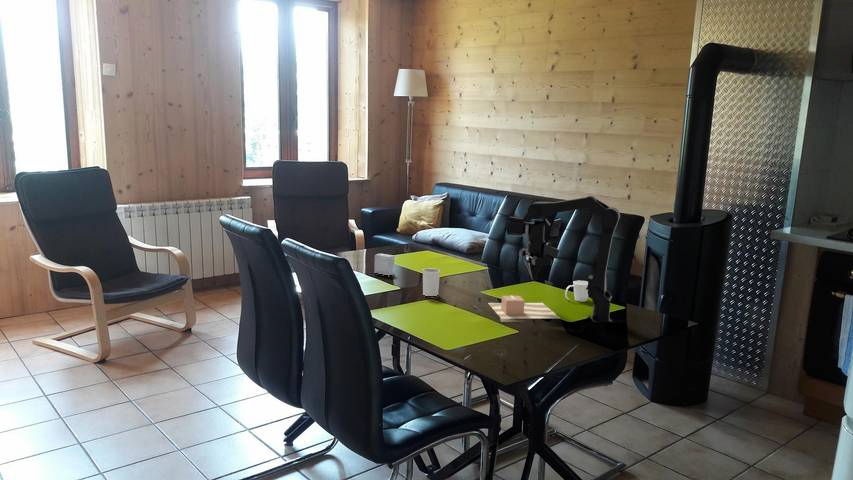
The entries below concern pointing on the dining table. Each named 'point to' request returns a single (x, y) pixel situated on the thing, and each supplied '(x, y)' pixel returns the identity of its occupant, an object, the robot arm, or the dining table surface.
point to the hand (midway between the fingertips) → (534, 280)
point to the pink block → (512, 305)
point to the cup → (579, 290)
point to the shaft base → (529, 312)
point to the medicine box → (384, 264)
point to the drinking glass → (431, 281)
